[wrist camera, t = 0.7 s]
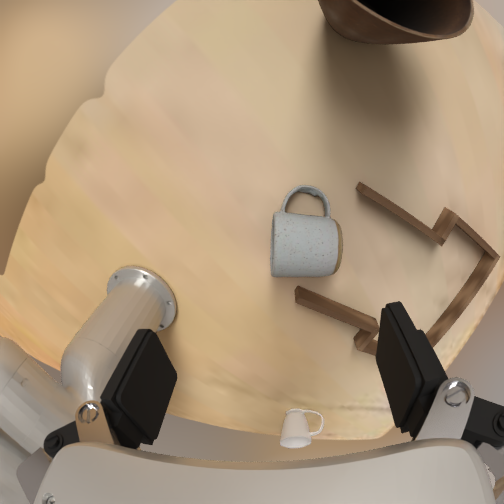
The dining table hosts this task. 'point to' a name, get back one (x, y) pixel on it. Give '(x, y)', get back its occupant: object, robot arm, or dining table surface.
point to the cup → (297, 429)
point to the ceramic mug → (305, 241)
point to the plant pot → (398, 19)
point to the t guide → (438, 235)
